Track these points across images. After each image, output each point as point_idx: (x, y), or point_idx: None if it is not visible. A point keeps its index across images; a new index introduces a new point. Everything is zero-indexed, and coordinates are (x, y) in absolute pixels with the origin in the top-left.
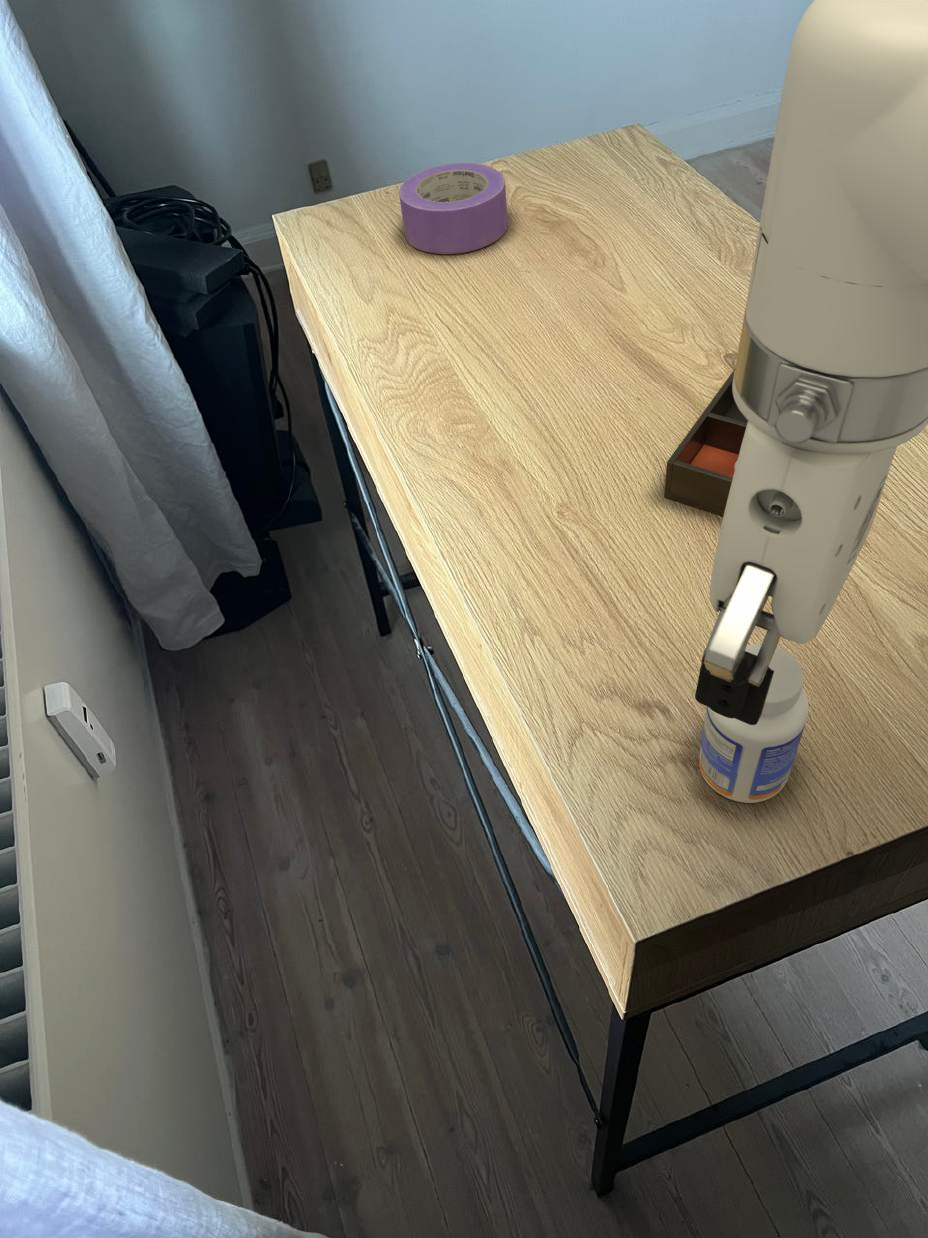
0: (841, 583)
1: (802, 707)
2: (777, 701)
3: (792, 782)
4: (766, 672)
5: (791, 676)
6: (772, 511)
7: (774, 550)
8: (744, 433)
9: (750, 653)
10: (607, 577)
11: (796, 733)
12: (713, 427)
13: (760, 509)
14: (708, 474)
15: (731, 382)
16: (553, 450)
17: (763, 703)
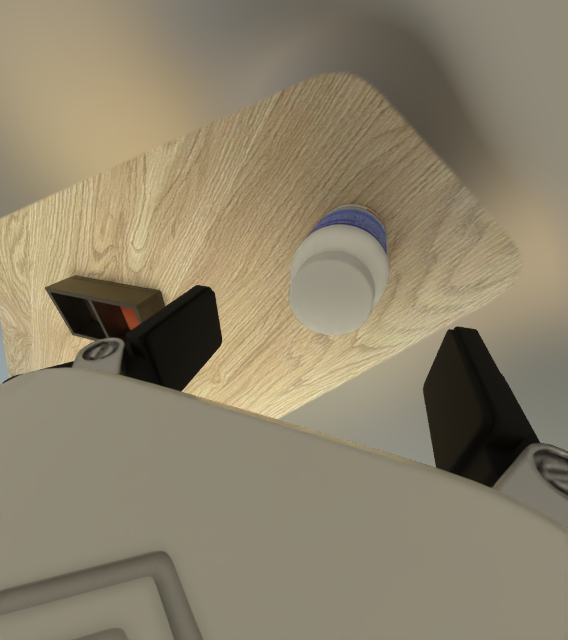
0: (322, 557)
1: (333, 238)
2: (367, 281)
3: (348, 198)
4: (511, 436)
5: (323, 274)
6: None
7: None
8: (106, 318)
9: (490, 485)
10: (243, 354)
11: (361, 231)
12: (116, 334)
13: None
14: None
15: (82, 334)
16: (185, 390)
17: (487, 360)
